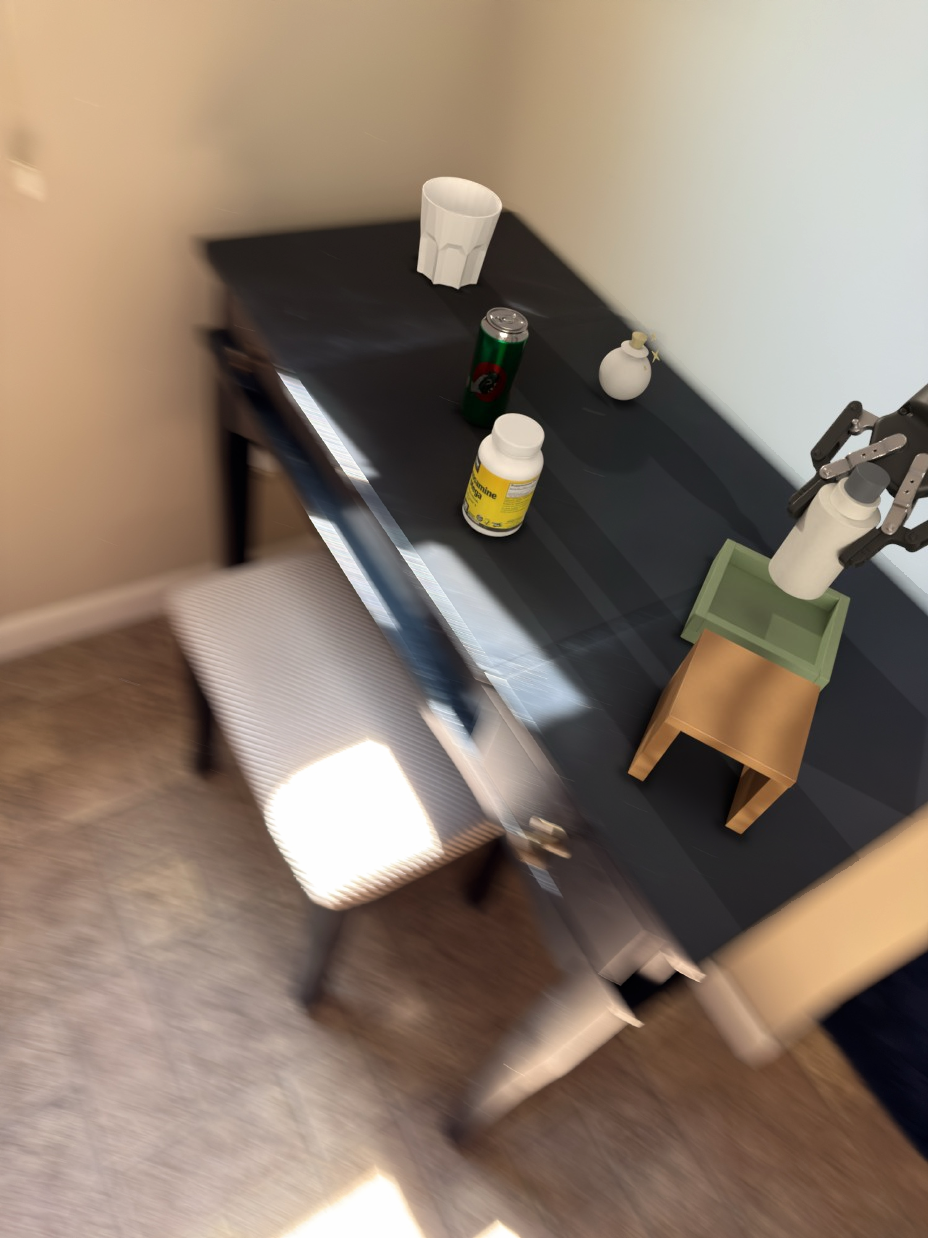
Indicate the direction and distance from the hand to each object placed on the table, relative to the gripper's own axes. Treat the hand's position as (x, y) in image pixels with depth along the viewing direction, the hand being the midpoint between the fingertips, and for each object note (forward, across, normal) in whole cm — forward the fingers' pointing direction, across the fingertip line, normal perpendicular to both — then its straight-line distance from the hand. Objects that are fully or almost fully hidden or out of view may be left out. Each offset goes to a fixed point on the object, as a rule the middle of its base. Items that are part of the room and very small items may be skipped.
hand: (816, 538), depth 73 cm
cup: (+5, -64, +14) cm, 65 cm away
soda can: (+14, -37, +5) cm, 40 cm away
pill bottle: (+20, -23, -1) cm, 30 cm away
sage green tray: (+8, 0, +10) cm, 13 cm away
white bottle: (+3, 0, +5) cm, 6 cm away
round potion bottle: (+1, -34, +18) cm, 38 cm away
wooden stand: (+19, +8, -1) cm, 21 cm away
